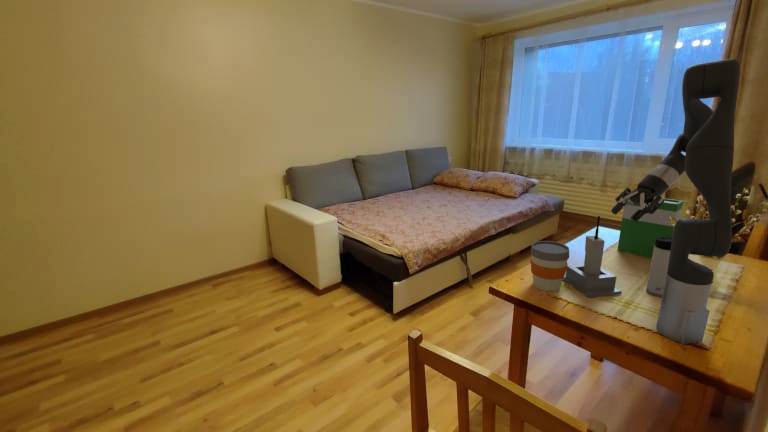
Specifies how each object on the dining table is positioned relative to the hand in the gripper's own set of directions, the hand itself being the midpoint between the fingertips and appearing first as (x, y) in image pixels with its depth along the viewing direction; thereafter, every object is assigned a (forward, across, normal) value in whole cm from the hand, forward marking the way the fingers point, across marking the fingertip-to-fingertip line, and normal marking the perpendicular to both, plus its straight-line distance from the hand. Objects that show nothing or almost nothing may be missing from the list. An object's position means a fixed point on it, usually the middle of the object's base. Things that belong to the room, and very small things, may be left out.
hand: (622, 216), depth 120 cm
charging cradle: (+24, 0, +11) cm, 27 cm away
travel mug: (+12, +10, +24) cm, 28 cm away
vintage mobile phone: (+24, 0, +10) cm, 26 cm away
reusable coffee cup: (+35, -3, +1) cm, 35 cm away
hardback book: (-4, -20, +40) cm, 45 cm away
